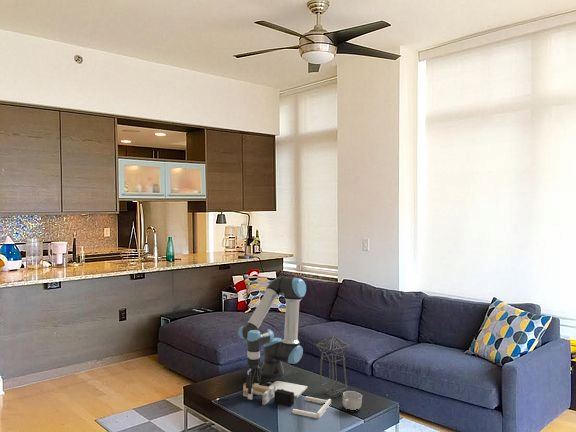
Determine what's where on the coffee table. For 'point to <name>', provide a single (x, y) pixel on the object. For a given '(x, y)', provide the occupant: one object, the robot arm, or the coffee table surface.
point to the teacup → (352, 400)
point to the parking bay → (310, 414)
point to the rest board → (289, 387)
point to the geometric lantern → (332, 361)
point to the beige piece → (261, 392)
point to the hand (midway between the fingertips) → (253, 396)
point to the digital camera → (284, 397)
